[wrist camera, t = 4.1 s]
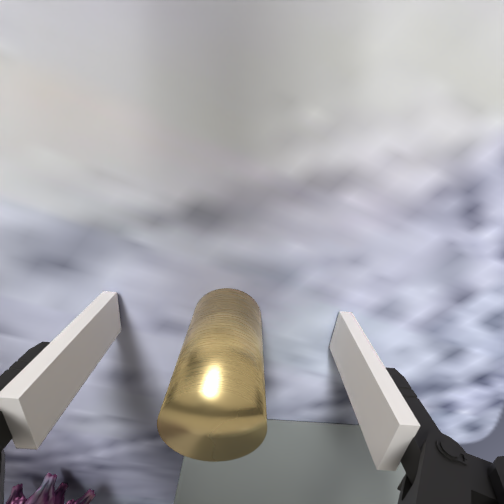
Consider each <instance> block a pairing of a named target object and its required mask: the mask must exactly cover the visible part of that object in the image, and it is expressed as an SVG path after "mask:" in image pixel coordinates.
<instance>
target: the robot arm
mask: <svg viewBox="0 0 504 504" xmlns="http://www.w3.org/2000/svg"><path fill="white" fill-rule="evenodd" d="M121 330H122V329H121V321H120V313H119V305H118V297H117V292H109V291H103V292H102V293H101V294H100V295H99V296H98V297H97V298H96V299H95V300H94V301H93V302H92V303H91V304H90V305H89V306H87V307H86V308H85V309H84V310H83V311H82V312H81V313H80V314H79V315H78V316H77V317H76V318H75V319H74V320H73V321H72V322H71V323H70V324H69V325H68V326H67V327H66V328H65V329H64V330H63V331H62V332H61V333H60V334H59V335H58V336H57V337H56V338H55V339H54V340H53V341H52V342H41V343H40V344H38V345H36V346H35V347H33V348H31V349H29V350H28V351H27V352H26V353H25V354H24V355H23V356H22V357H20V358H19V359H18V361H16V362H15V363H14V364H13V365H12V366H11V367H10V368H9V370H6V371H5V372H4V373H3V374H2V375H1V376H0V504H4V478H5V452H4V448H5V446H6V445H7V444H8V443H9V441H10V440H11V439H12V440H13V442H14V444H15V447H16V448H20V449H38V448H39V446H40V445H41V443H42V442H43V441H44V439H45V438H46V436H47V435H48V434H49V432H50V431H51V429H52V428H53V426H54V425H55V424H56V422H57V421H58V419H59V418H60V417H61V415H62V414H63V412H64V411H65V410H66V408H67V407H68V405H69V404H70V402H71V401H72V400H73V398H74V397H75V395H76V394H77V393H78V391H79V390H80V388H81V387H82V386H83V384H84V383H85V381H86V380H87V378H88V377H89V376H90V374H91V373H92V371H93V370H94V369H95V367H96V366H97V364H98V363H99V361H100V360H101V359H102V357H103V356H104V354H105V353H106V352H107V350H108V349H109V347H110V346H111V345H112V343H113V342H114V340H115V339H116V337H117V336H118V335H119V333H120V332H121ZM329 347H330V350H331V353H332V355H333V358H334V360H335V363H336V366H337V368H338V371H339V373H340V376H341V378H342V381H343V384H344V386H345V389H346V391H347V394H348V397H349V399H350V402H351V404H352V407H353V410H354V412H355V415H356V417H357V420H358V422H359V425H360V428H361V430H362V433H363V435H364V438H365V441H366V443H367V446H368V448H369V451H370V454H371V456H372V459H373V461H374V464H375V466H376V469H377V470H387V471H396V469H397V468H398V466H399V464H400V462H401V463H402V466H403V468H404V470H405V472H406V474H405V476H404V477H403V479H402V481H401V482H400V484H399V486H398V488H397V489H398V490H399V491H400V495H399V499H398V504H504V456H500V457H497V458H496V459H495V461H494V462H493V463H491V462H488V461H485V460H483V459H480V458H478V457H475V456H472V455H470V454H467V453H466V452H465V451H464V450H463V448H462V447H461V446H460V445H459V444H458V443H457V442H456V441H454V440H453V439H452V438H450V437H449V436H447V435H444V434H442V433H441V432H440V431H439V429H438V428H437V426H436V424H435V423H434V421H433V420H432V418H431V417H430V415H429V414H428V412H427V411H426V409H425V408H424V406H423V405H422V403H421V402H420V400H419V399H417V396H416V394H415V393H414V391H413V390H411V387H410V385H409V384H408V382H407V381H406V379H405V378H404V377H403V376H402V375H401V374H400V373H399V372H398V371H397V370H396V369H395V368H385V366H384V365H383V363H382V361H381V360H380V358H379V356H378V355H377V353H376V351H375V350H374V348H373V346H372V345H371V343H370V341H369V340H368V338H367V336H366V335H365V333H364V331H363V330H362V328H361V326H360V325H359V323H358V322H357V320H356V318H355V317H354V315H353V313H352V312H343V311H339V314H338V318H337V321H336V325H335V328H334V332H333V335H332V339H331V342H330V346H329Z"/></svg>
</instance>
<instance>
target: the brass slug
mask: <svg viewBox="0 0 504 504" xmlns="http://www.w3.org/2000/svg"><path fill="white" fill-rule="evenodd" d="M157 429H158V432H159V435H160V437H161V438H162V440H163V441H164V442H165V443H166V444H167V445H168V446H169V447H170V448H171V449H173V450H174V451H176V452H178V453H179V454H182V455H184V456H186V457H189V458H192V459H196V460H201V461H209V462H221V461H229V460H234V459H238V458H241V457H243V456H246V455H248V454H250V453H251V452H253V451H254V450H256V449H257V448H258V447H259V446H260V445H261V444H262V442H263V441H264V439H265V437H266V434H267V415H266V397H265V379H264V361H263V343H262V326H261V312H260V309H259V306H258V304H257V303H256V302H255V300H254V299H253V298H252V297H251V296H249V295H248V294H246V293H244V292H242V291H239V290H236V289H230V288H224V289H217V290H214V291H211V292H209V293H207V294H206V295H204V296H203V297H202V298H201V299H200V300H199V302H198V303H197V306H196V308H195V311H194V314H193V317H192V320H191V323H190V325H189V328H188V331H187V334H186V337H185V340H184V343H183V346H182V349H181V352H180V355H179V358H178V360H177V363H176V366H175V369H174V372H173V375H172V378H171V381H170V384H169V387H168V390H167V392H166V395H165V398H164V401H163V404H162V407H161V410H160V413H159V416H158V420H157Z"/></svg>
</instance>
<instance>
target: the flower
mask: <svg viewBox="0 0 504 504" xmlns="http://www.w3.org/2000/svg"><path fill="white" fill-rule="evenodd" d="M56 478H57V475H56V474H54V475H52V474H50V473H47V475H46V476H45V478H44V480H43V482H42V484H41V486H40V487H39V488H38V489H37V491H36V492H35V493H34V494H33V495H32V496H31V497H29V499H28V500H27V499H26V498H25V496H24V495H23V492H22V484H21V485H20V484H18V485H16V486H13V488H12V491H11V495H10V497H9V499H8V501H7V502H6V504H64V495H65V492H66V490H67V488H68V485H67V483H65V484H64V483H63V482H62V483H61V484H60V486H59V487H58V489H57V490H56V491H54V485H55V481H56ZM94 496H95V494H94V490H91V489H89V490H88V491H87V492H86V493H85V494H84V495H83V496H82V497H81V498H79V499H77V500H76V501H74V499H72V500H69V501H68V502H67V503H66V504H89V503H90V502H91V500H92V499H93V498H94Z"/></svg>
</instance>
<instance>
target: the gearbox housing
mask: <svg viewBox="0 0 504 504" xmlns="http://www.w3.org/2000/svg"><path fill="white" fill-rule="evenodd" d="M405 474H406V472H405V470H404V468H403V466H402V463H401V462H400V464H399V466H398V468H397V469H396V471H387V470H377V469H376V466H375V464H374V461H373V459H372V456H371V454H370V451H369V448H368V446H367V443H366V441H365V438H364V435H363V433H362V430H361V428H360V425H347V424H332V423H316V422H301V421H285V420H270V419H267V434H266V437H265V439H264V441H263V442H262V444H261V445H260V446H259V447H258V448H257V449H256V450H254V451H253V452H251V453H250V454H248V455H246V456H243V457H241V458H238V459H234V460H229V461H221V462H209V461H201V460H196V459H192V458H189V457H186V456H184V458H183V462H182V467H181V471H180V476H179V481H178V485H177V490H176V495H175V499H174V504H398V499H399V495H400V491H399V490H398V489H397V488H398V486H399V484H400V482H401V481H402V479H403V477H404V476H405Z"/></svg>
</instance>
